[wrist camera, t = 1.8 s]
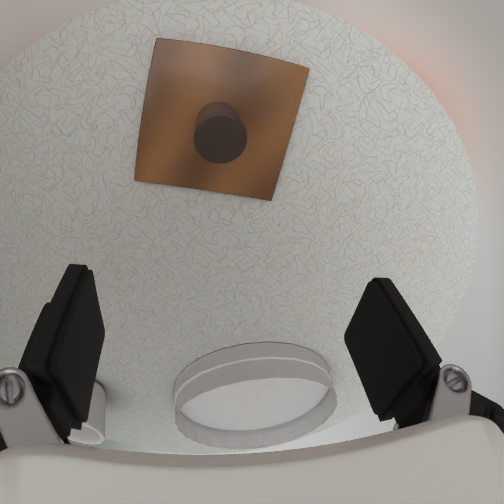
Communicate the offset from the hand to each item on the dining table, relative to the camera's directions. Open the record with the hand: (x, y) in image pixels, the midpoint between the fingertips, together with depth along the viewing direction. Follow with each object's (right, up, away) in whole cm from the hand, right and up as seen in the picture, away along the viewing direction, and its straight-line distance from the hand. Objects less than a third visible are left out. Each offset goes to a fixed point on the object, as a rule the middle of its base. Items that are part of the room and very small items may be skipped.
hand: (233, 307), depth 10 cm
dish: (+1, -18, +32) cm, 37 cm away
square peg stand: (-2, +12, +12) cm, 17 cm away
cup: (-24, -18, +28) cm, 41 cm away
